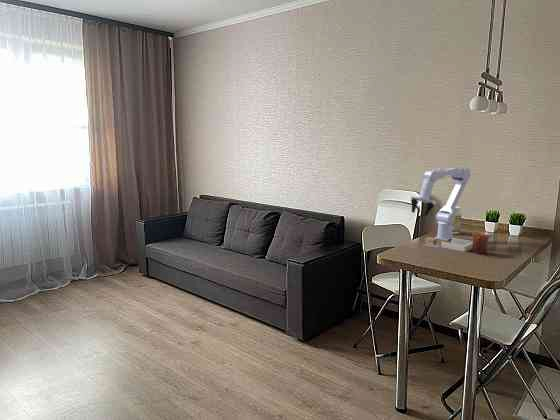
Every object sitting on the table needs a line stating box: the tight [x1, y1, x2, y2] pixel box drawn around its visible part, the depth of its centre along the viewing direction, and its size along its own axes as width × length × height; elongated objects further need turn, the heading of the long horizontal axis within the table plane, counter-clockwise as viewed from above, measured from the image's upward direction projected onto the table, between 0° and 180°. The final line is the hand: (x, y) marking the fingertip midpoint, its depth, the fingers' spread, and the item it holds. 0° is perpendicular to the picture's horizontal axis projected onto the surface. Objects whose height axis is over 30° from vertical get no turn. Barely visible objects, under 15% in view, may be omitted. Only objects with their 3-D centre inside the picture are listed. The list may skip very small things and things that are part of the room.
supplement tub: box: [442, 205, 462, 235], centre depth 275 cm, size 12×12×17 cm
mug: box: [471, 231, 491, 255], centre depth 223 cm, size 12×9×10 cm
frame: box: [440, 237, 473, 253], centre depth 236 cm, size 16×13×3 cm
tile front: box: [435, 239, 450, 245], centre depth 242 cm, size 5×5×2 cm
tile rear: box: [424, 237, 438, 244], centre depth 246 cm, size 5×5×2 cm
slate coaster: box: [422, 242, 441, 249], centre depth 238 cm, size 8×8×1 cm
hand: (419, 214), depth 244 cm, fingers open, 7 cm apart
